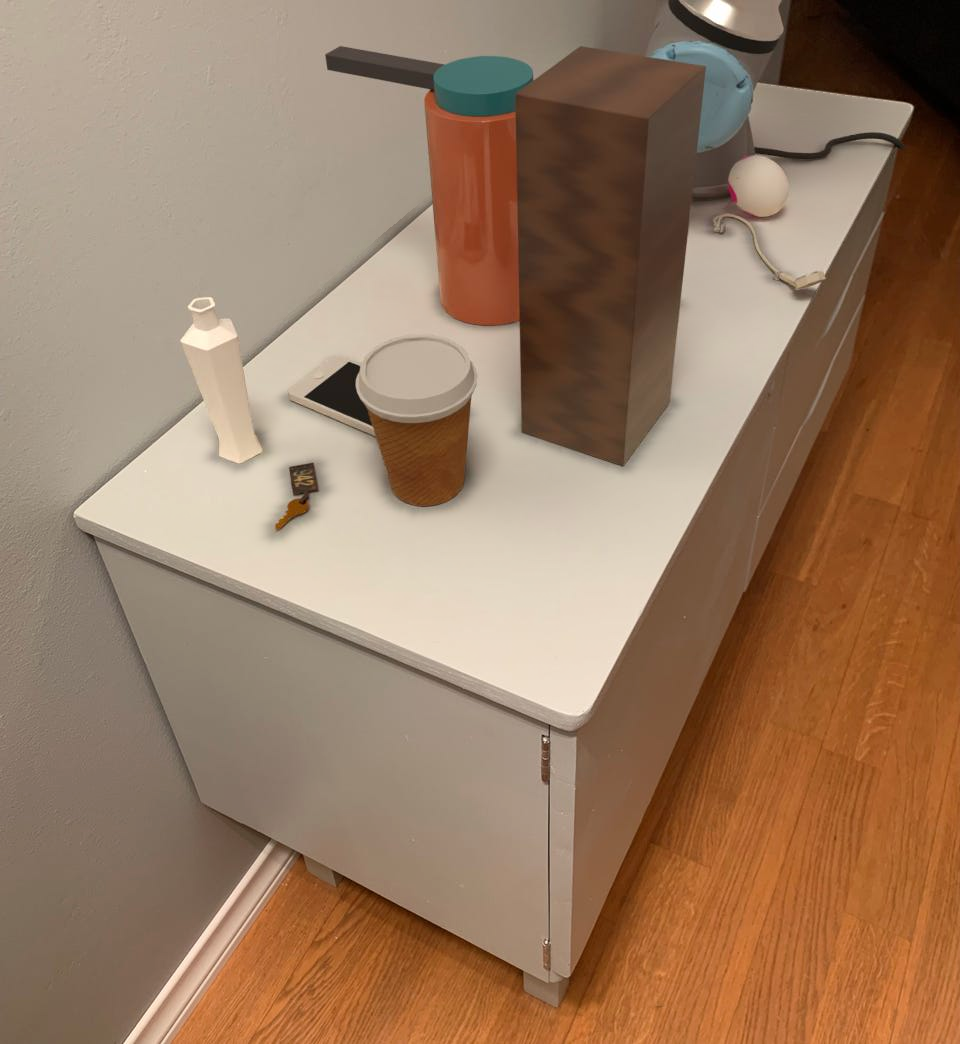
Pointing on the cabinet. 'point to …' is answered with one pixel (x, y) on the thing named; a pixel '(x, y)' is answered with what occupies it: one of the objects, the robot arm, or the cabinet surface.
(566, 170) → the pillar
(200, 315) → the white hexagonal vase
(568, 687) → the cabinet surface
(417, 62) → the disc paddle
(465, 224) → the pedestal
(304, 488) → the key tag
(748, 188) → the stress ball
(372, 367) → the disposable coffee cup
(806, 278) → the shower head
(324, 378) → the smartphone
